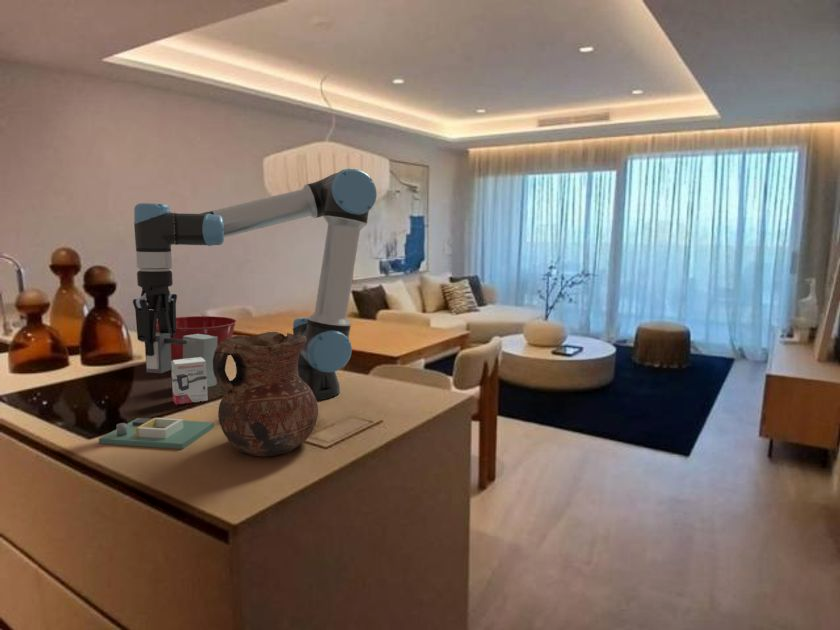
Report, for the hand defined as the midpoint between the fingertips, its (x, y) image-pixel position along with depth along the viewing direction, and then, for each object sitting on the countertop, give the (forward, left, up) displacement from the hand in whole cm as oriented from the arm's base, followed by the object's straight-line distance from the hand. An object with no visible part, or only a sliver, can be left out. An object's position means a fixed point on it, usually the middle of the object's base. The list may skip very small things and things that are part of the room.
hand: (159, 365), depth 133 cm
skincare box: (+9, -35, -15) cm, 39 cm away
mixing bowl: (+26, -63, -15) cm, 69 cm away
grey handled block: (-2, 0, -1) cm, 3 cm away
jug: (-31, +8, -15) cm, 36 cm away
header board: (-3, +6, -15) cm, 17 cm away
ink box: (+4, -20, -15) cm, 25 cm away
